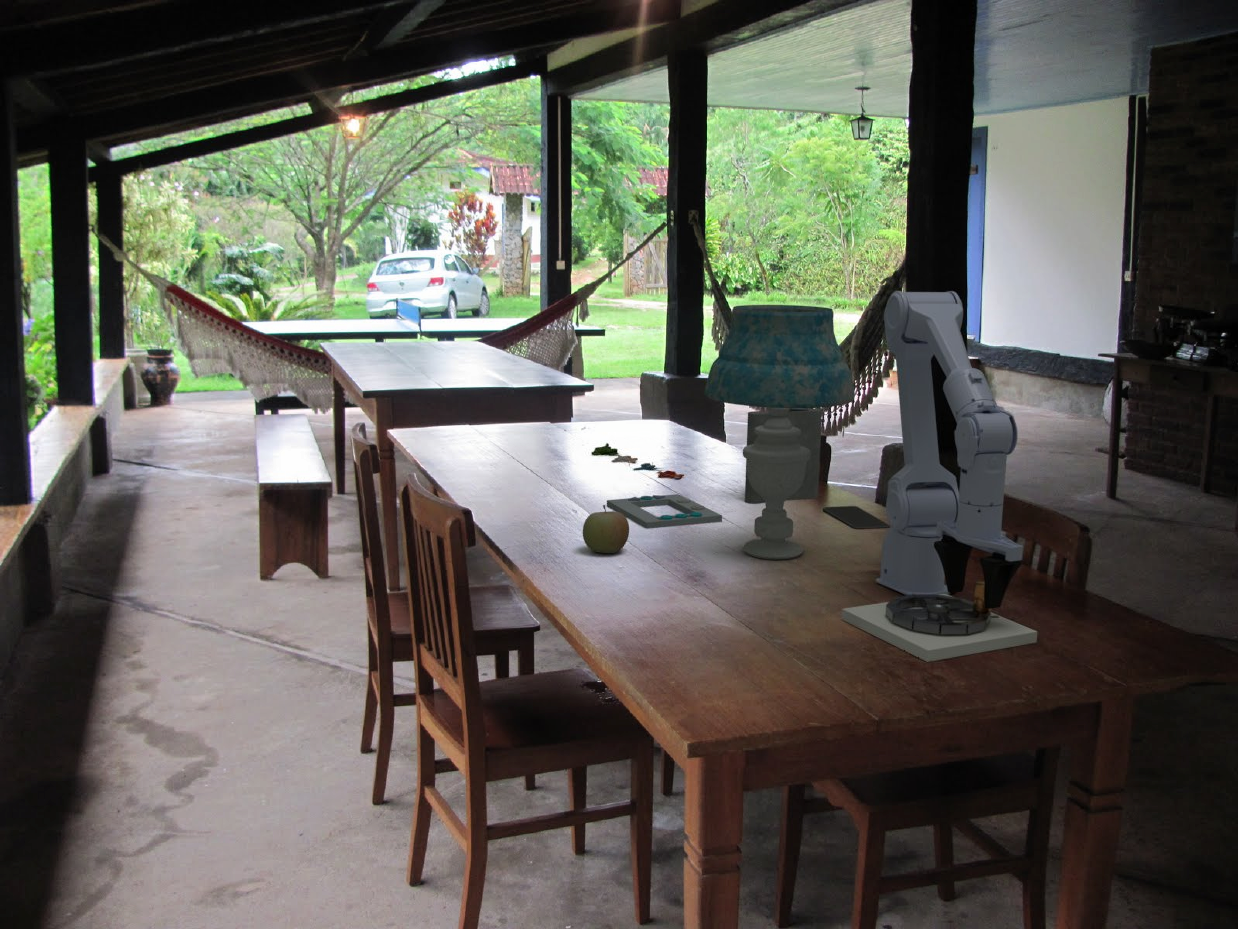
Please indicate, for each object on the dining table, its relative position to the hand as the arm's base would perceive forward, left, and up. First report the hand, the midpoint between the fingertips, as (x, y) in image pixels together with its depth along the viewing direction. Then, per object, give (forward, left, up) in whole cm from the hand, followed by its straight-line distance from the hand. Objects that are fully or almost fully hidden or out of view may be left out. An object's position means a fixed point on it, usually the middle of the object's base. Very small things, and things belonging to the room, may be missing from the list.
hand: (973, 599), depth 167 cm
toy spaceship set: (-116, +6, -4) cm, 116 cm away
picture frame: (-73, -9, -4) cm, 74 cm away
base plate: (0, -6, -4) cm, 7 cm away
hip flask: (-75, +18, -4) cm, 77 cm away
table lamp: (-42, -5, -4) cm, 43 cm away
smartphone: (-56, +22, -4) cm, 60 cm away
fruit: (-53, -30, -4) cm, 61 cm away
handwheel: (0, -6, -2) cm, 6 cm away
